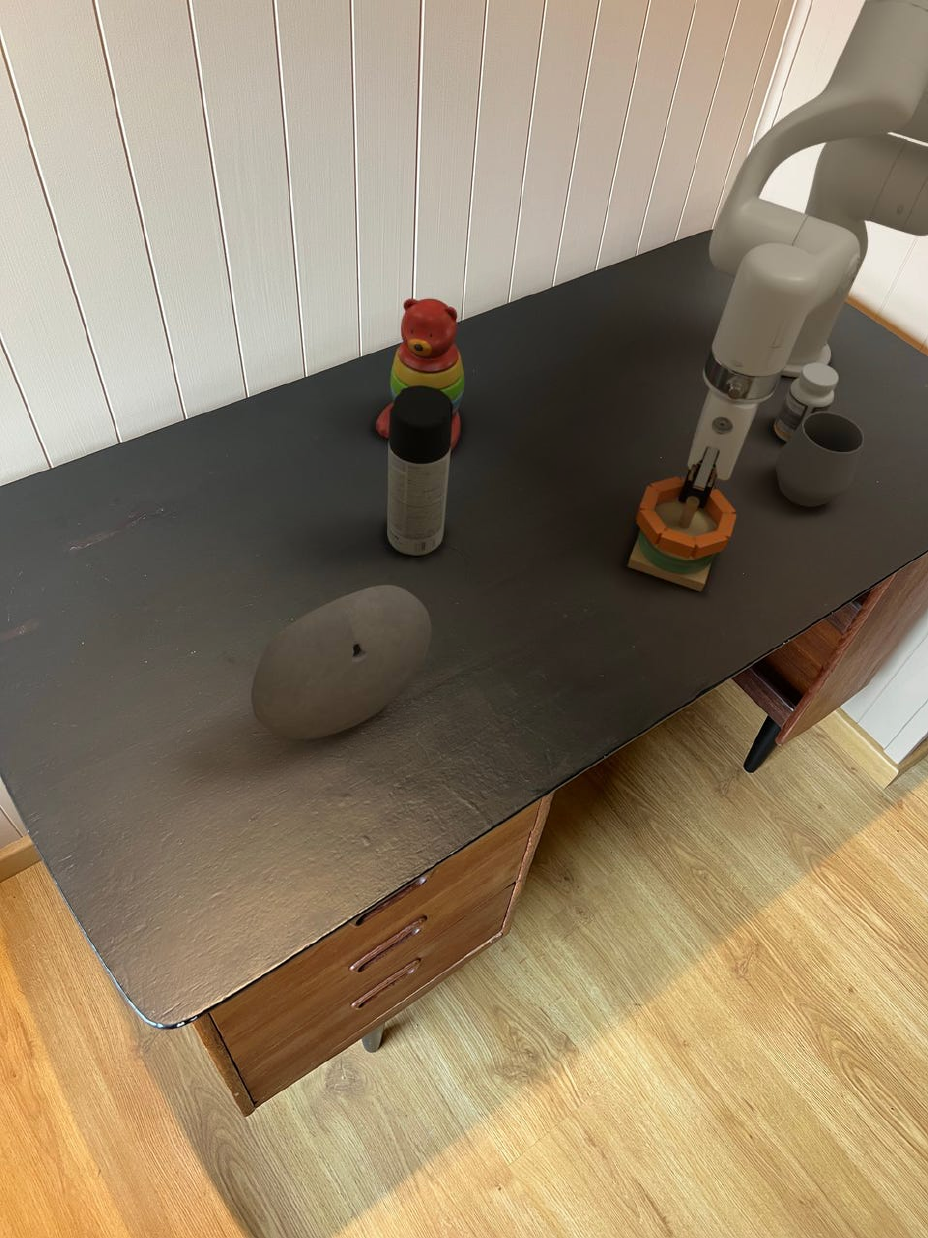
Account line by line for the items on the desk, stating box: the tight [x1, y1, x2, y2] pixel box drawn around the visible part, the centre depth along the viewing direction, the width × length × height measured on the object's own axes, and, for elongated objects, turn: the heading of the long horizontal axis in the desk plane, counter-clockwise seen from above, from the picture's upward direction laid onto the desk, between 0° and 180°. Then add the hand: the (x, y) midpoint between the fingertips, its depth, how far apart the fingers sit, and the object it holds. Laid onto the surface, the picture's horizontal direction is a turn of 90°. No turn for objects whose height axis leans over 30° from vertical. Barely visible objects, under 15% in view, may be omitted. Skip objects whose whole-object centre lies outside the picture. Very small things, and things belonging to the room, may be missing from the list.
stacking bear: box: [375, 297, 466, 452], centre depth 113 cm, size 11×10×18 cm
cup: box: [775, 411, 866, 508], centre depth 114 cm, size 10×9×10 cm
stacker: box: [627, 496, 718, 593], centre depth 106 cm, size 9×9×9 cm
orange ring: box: [635, 476, 737, 559], centre depth 104 cm, size 11×11×2 cm
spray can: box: [386, 385, 453, 557], centre depth 100 cm, size 7×7×20 cm
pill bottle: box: [773, 363, 839, 443], centre depth 121 cm, size 6×6×10 cm
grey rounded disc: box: [250, 584, 432, 740], centre depth 85 cm, size 18×7×19 cm, turn 123°
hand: (693, 496), depth 108 cm, fingers closed on orange ring, 1 cm apart
